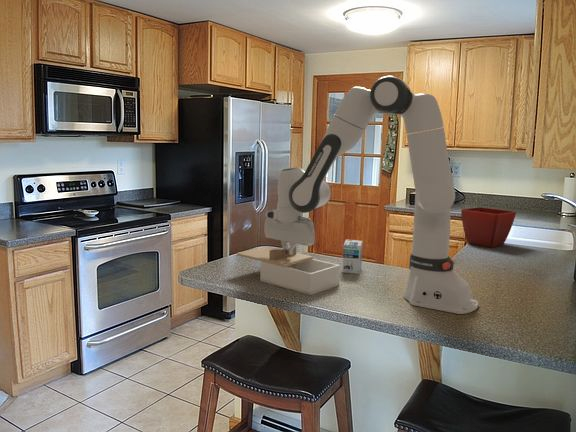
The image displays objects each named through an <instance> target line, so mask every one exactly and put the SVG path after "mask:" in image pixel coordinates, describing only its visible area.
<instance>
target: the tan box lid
mask: <svg viewBox="0 0 576 432" xmlns="http://www.w3.org/2000/svg"><path fill="white" fill-rule="evenodd" d="M288 248H290V246H288ZM236 256H238V257H242V258H246V259H252V260H255V261H259V262H261V261H262V262H266V263H270V264H274V265H278V266H282V267H284V266H288V265H292V264H295V263H299V262H303V261H306V260H310V259H314V258H313V257H314V256H312V255H308V254H303V253H302V254H299V253H296V246H295V248H294V249H293V254H292V255H288V254H284V249H283V247H279V248H275V247H271V246H263V247H257V248H253V249H249V250H245V251H239V252H236Z"/></svg>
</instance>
